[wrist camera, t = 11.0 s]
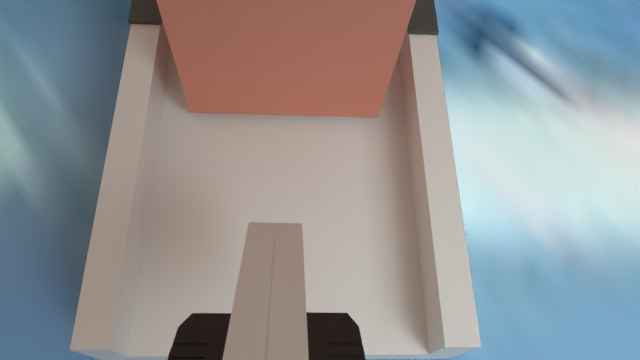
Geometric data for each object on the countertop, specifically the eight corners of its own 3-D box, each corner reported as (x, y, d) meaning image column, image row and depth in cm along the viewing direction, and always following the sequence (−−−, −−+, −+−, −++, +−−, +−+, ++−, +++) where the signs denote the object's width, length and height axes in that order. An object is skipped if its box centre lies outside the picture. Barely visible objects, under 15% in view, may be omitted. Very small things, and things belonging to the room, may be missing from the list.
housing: (450, 358, 20) (559, 320, 12) (103, 361, 19) (-20, 322, 11) (402, -46, 29) (446, -213, 21) (170, -57, 28) (128, -236, 20)
